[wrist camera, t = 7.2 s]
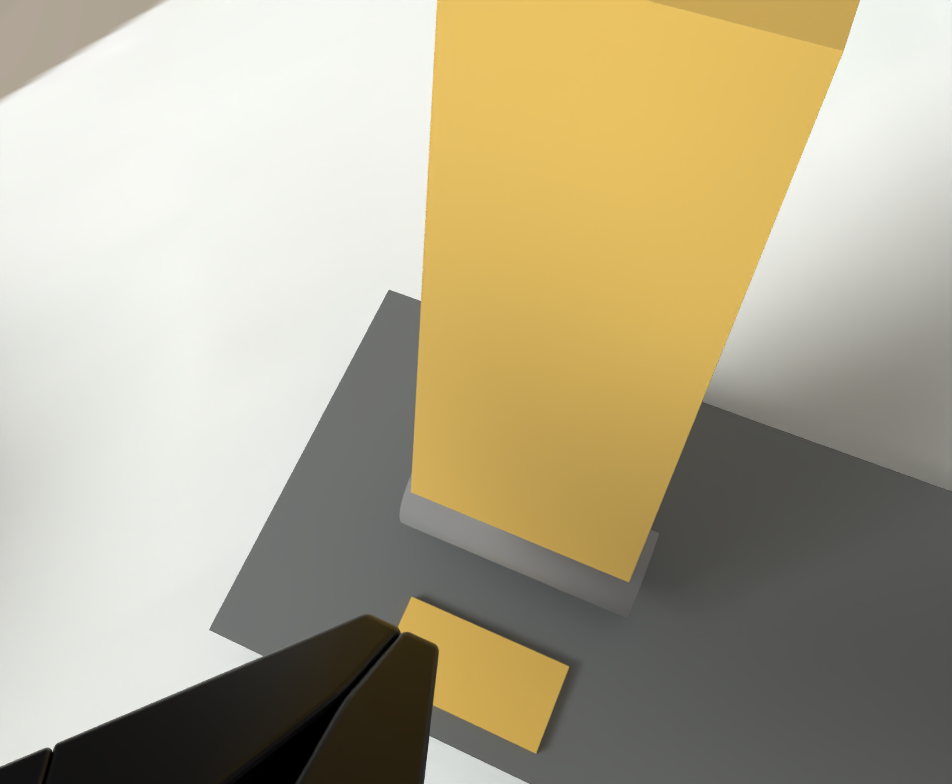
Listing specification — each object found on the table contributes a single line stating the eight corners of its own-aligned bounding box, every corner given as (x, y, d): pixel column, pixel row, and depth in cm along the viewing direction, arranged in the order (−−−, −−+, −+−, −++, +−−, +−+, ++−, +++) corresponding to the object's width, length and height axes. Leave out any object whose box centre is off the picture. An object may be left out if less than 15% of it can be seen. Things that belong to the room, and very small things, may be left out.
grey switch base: (1388, 693, 17) (1504, 685, 15) (1354, 1174, 14) (1491, 1246, 12) (402, 329, 21) (387, 285, 19) (242, 641, 19) (205, 628, 17)
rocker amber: (620, 634, 15) (867, 55, 8) (398, 539, 16) (422, -58, 9) (645, 564, 16) (882, -5, 9) (435, 479, 17) (484, -100, 10)
